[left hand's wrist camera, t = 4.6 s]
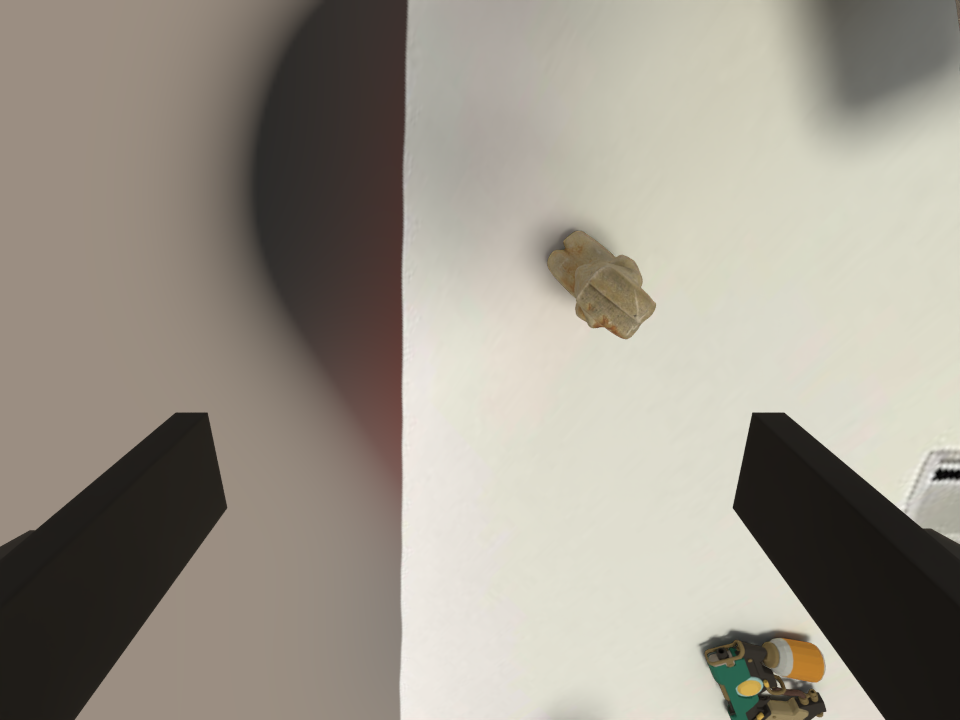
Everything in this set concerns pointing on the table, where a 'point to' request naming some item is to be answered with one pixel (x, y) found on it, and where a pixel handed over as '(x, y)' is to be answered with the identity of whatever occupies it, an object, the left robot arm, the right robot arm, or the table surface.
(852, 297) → the table surface
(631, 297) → the sculpture
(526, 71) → the table surface
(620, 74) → the table surface
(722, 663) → the spray gun
